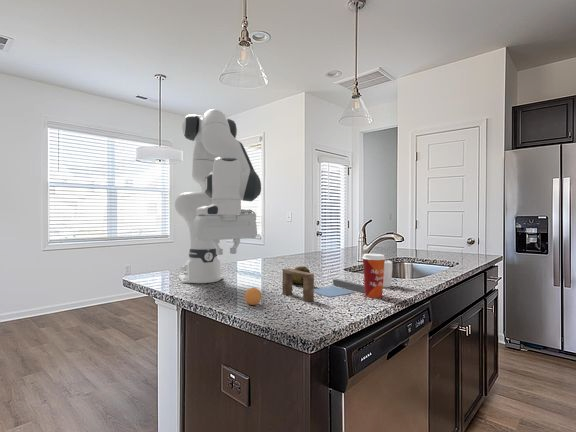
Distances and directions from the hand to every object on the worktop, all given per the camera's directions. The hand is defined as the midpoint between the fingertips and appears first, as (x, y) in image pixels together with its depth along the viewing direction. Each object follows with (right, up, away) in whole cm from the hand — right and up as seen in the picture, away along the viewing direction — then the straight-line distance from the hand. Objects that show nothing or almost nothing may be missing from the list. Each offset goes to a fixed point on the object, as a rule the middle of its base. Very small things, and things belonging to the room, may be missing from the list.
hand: (226, 254), depth 106 cm
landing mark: (+36, -17, +25) cm, 47 cm away
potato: (+23, -17, +39) cm, 48 cm away
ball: (+8, -14, +5) cm, 17 cm away
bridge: (+22, -17, +16) cm, 32 cm away
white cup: (+58, -17, +36) cm, 71 cm away
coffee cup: (+50, -17, +18) cm, 56 cm away
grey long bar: (+44, -17, +30) cm, 56 cm away
